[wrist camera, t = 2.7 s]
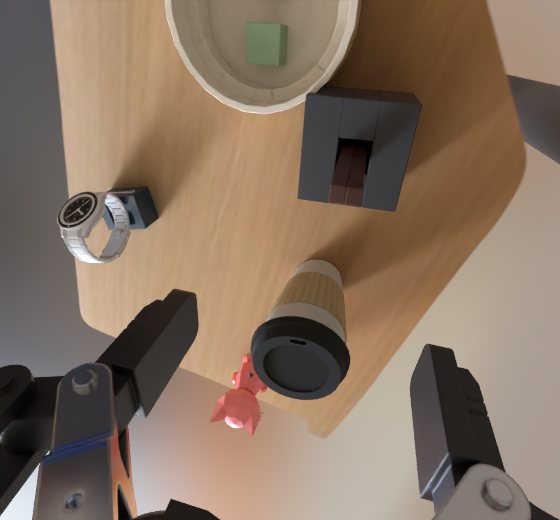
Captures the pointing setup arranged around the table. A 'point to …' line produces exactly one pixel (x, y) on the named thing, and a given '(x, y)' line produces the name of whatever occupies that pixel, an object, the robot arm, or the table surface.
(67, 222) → the watch
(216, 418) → the cat figurine
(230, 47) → the bowl
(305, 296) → the coffee cup
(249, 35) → the sage block
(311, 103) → the stand
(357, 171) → the chopsticks
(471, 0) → the table surface
